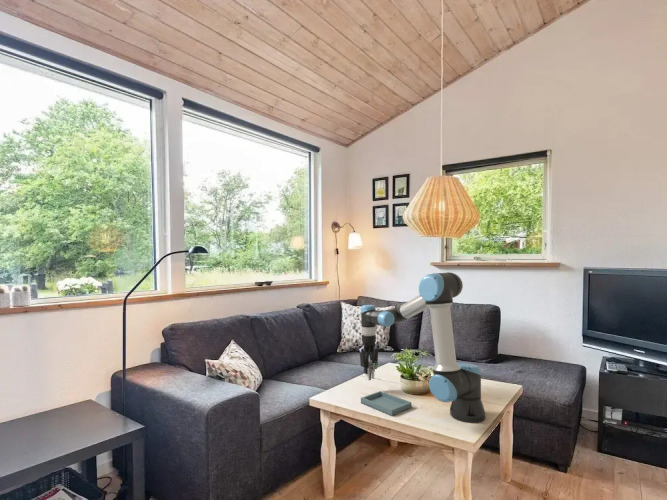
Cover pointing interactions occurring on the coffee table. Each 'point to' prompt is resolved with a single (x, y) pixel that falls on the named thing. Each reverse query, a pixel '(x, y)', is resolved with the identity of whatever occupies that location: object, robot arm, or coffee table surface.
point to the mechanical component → (371, 367)
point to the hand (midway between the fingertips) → (369, 378)
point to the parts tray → (386, 403)
